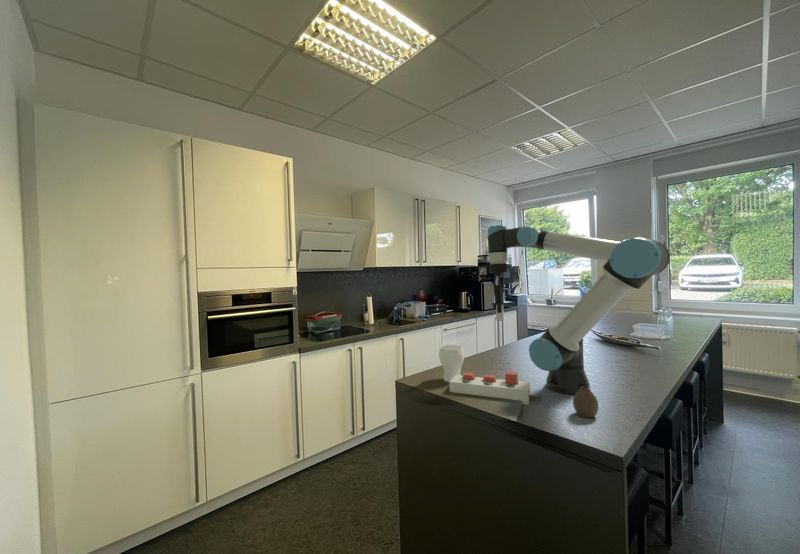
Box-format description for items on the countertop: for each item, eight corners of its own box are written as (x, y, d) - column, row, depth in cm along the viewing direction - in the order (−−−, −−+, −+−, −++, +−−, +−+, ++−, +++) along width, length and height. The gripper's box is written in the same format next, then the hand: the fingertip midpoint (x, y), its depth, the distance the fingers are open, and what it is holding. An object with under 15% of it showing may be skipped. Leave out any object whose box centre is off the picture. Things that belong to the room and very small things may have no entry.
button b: (495, 384, 123) (495, 375, 123) (494, 387, 120) (494, 377, 120) (485, 383, 125) (485, 374, 125) (483, 385, 122) (483, 376, 122)
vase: (568, 411, 104) (567, 384, 104) (588, 409, 105) (587, 383, 105) (582, 420, 98) (581, 392, 98) (604, 419, 98) (603, 390, 98)
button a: (517, 381, 120) (517, 372, 120) (517, 384, 117) (516, 374, 117) (506, 380, 121) (506, 371, 121) (505, 383, 119) (505, 373, 119)
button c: (475, 382, 127) (474, 373, 127) (473, 384, 124) (472, 375, 124) (465, 381, 128) (464, 372, 128) (463, 383, 125) (462, 374, 125)
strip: (541, 397, 117) (541, 382, 117) (541, 406, 109) (540, 391, 109) (456, 387, 131) (455, 374, 131) (449, 394, 123) (449, 381, 123)
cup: (465, 386, 131) (463, 350, 131) (439, 386, 133) (437, 349, 133) (465, 378, 141) (464, 344, 141) (441, 378, 143) (439, 344, 143)
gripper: (491, 264, 140) (493, 318, 140) (486, 263, 128) (488, 322, 128) (509, 263, 137) (511, 318, 136) (505, 262, 125) (507, 322, 125)
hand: (500, 320), depth 132 cm, fingers closed
